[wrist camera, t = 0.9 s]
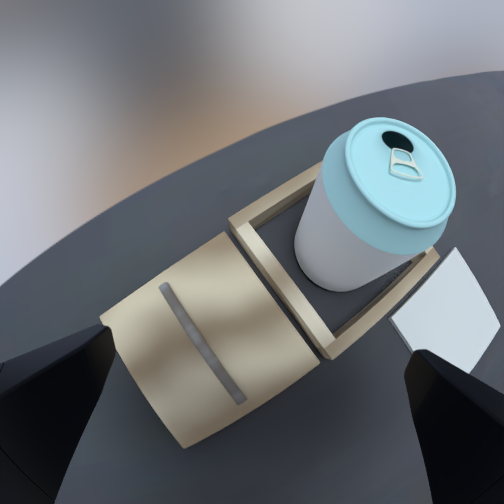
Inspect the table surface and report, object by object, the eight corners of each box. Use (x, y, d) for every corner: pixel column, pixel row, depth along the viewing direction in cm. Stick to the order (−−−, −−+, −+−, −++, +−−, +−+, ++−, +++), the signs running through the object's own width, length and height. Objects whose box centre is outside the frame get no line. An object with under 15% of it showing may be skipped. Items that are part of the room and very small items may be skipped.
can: (275, 234, 22) (296, 132, 11) (343, 195, 23) (399, 95, 12) (325, 310, 21) (405, 276, 9) (391, 262, 22) (485, 198, 10)
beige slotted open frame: (424, 265, 22) (440, 257, 19) (186, 445, 17) (178, 457, 15) (340, 162, 24) (348, 146, 22) (104, 317, 20) (88, 314, 18)
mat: (496, 326, 20) (500, 326, 19) (441, 401, 18) (445, 402, 17) (452, 249, 22) (455, 247, 21) (387, 318, 20) (391, 317, 20)
